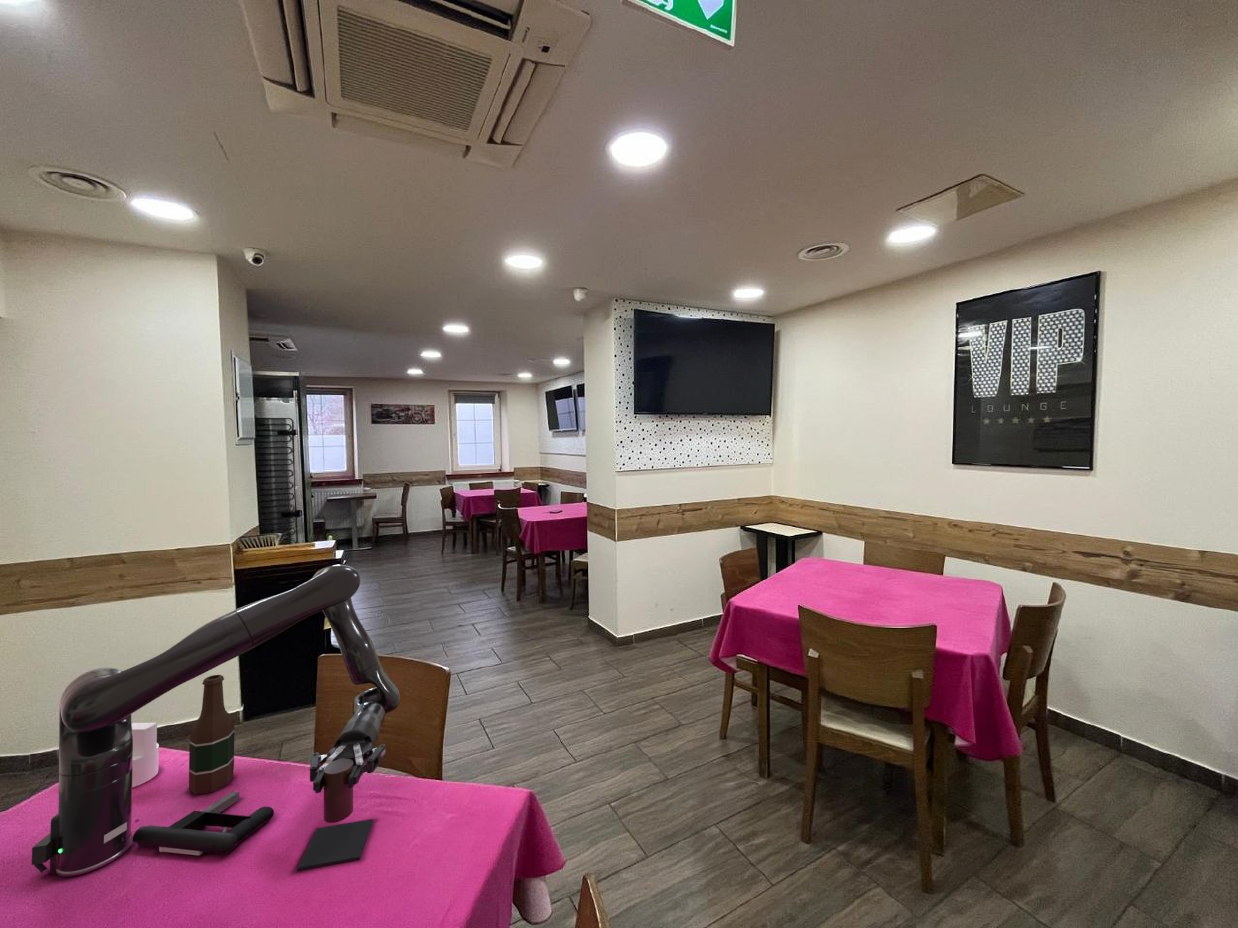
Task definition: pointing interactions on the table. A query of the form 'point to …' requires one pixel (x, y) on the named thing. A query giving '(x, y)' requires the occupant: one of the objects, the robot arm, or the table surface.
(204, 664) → the robot arm
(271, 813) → the door handle
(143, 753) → the base with upright slab
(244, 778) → the table surface
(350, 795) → the dark brown cylinder
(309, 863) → the black mat
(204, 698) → the beer bottle
